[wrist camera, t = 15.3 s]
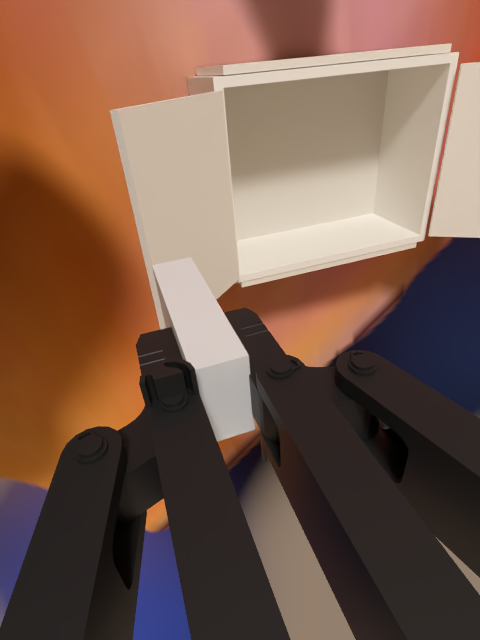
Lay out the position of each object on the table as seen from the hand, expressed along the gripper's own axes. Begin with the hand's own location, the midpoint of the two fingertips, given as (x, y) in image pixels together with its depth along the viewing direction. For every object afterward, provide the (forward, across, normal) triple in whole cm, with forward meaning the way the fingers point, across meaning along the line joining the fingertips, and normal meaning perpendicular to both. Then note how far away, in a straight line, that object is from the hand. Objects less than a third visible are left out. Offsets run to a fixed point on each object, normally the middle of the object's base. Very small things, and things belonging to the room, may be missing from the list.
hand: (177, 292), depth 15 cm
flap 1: (+9, +3, 0) cm, 10 cm away
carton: (+21, +15, 0) cm, 25 cm away
